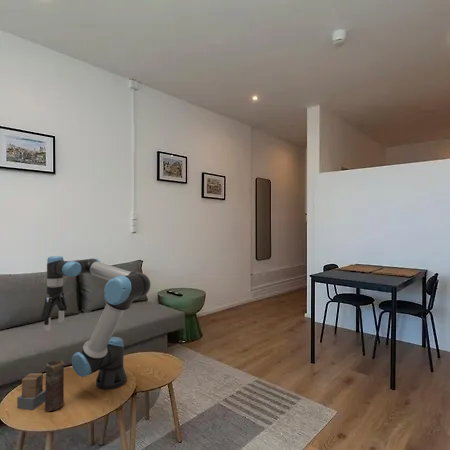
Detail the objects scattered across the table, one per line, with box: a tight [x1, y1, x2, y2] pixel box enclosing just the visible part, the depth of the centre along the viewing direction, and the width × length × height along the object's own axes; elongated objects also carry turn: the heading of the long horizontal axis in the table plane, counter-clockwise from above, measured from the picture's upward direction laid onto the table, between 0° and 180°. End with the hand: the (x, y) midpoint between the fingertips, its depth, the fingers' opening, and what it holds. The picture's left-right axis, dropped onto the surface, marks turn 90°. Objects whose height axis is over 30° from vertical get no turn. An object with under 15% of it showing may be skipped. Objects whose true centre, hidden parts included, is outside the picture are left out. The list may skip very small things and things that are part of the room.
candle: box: [44, 359, 65, 412], centre depth 144 cm, size 8×7×20 cm
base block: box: [16, 389, 46, 411], centre depth 147 cm, size 8×8×5 cm
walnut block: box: [21, 372, 44, 398], centre depth 147 cm, size 6×6×8 cm
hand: (54, 326), depth 168 cm, fingers open, 13 cm apart
